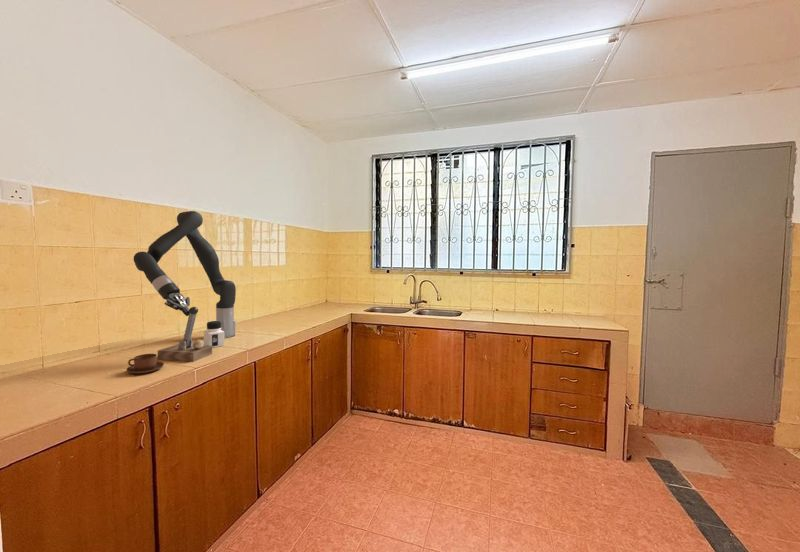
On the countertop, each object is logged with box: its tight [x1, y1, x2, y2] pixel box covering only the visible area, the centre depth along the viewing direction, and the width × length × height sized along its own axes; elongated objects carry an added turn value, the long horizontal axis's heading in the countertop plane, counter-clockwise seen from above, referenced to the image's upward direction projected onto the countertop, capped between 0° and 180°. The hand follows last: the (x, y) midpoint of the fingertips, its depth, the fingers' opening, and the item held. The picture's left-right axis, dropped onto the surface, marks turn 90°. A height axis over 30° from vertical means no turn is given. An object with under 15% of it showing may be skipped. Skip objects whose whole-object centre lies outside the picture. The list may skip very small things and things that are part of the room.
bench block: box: [157, 338, 213, 363], centre depth 154 cm, size 18×12×8 cm, turn 83°
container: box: [203, 320, 225, 349], centre depth 173 cm, size 8×8×13 cm
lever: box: [182, 306, 199, 348], centre depth 153 cm, size 4×4×20 cm
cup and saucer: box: [126, 353, 164, 375], centre depth 134 cm, size 12×12×6 cm
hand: (189, 314), depth 153 cm, fingers closed
